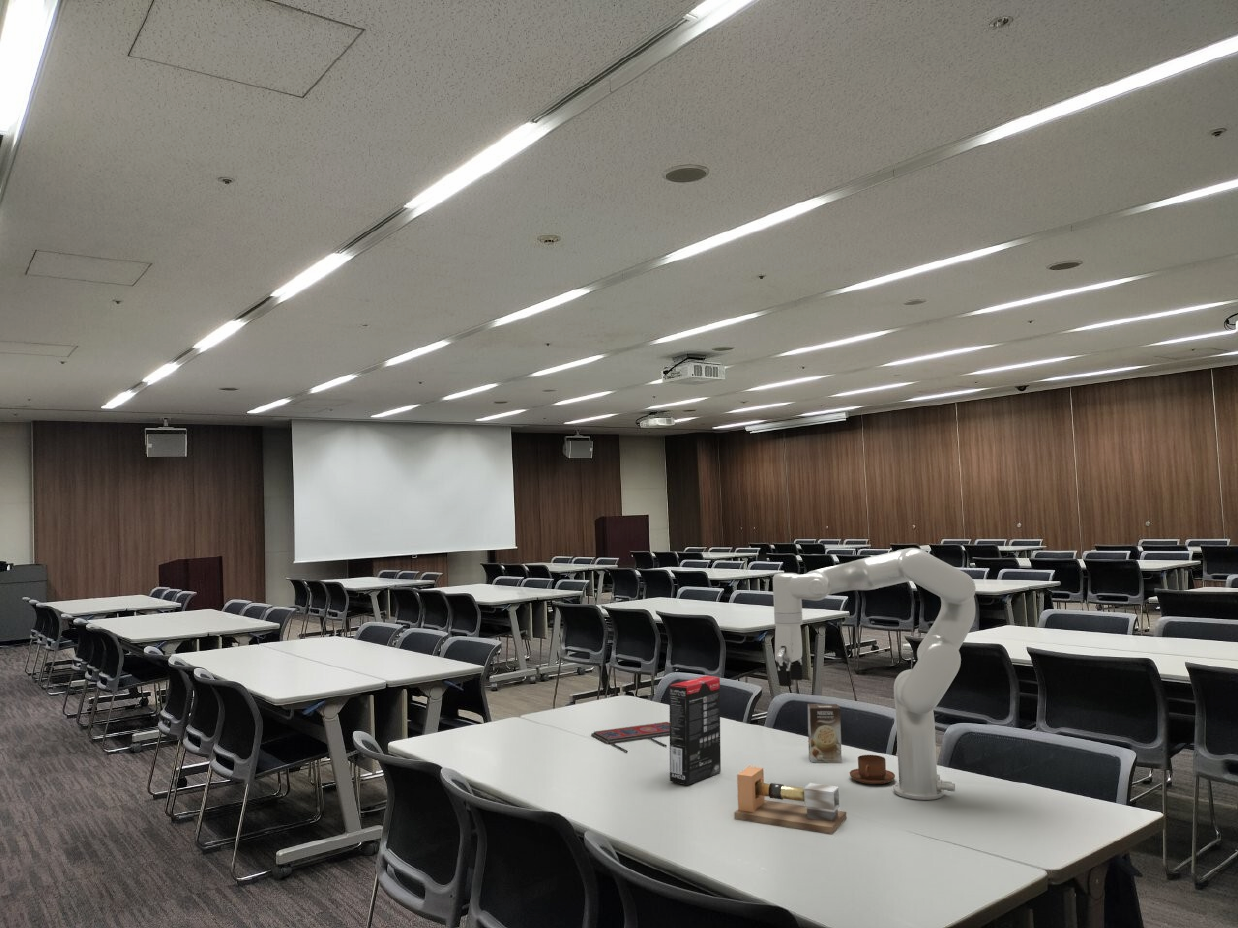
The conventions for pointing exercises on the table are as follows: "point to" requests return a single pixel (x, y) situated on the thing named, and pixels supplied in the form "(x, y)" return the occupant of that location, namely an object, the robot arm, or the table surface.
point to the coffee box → (824, 733)
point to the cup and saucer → (872, 770)
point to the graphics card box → (694, 729)
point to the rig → (802, 811)
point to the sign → (633, 733)
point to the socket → (749, 789)
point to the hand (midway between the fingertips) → (791, 682)
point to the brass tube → (779, 791)
